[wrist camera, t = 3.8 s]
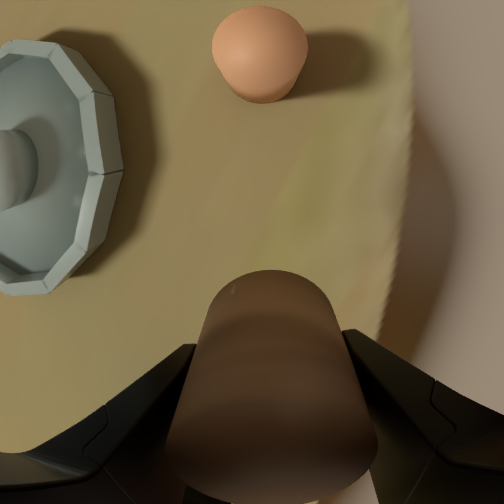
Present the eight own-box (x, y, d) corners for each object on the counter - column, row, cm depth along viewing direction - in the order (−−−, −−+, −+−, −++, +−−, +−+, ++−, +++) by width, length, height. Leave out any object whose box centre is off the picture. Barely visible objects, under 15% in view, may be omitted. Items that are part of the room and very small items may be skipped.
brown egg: (301, 100, 16) (314, 83, 12) (230, 108, 17) (218, 94, 12) (291, 37, 15) (299, 2, 10) (221, 45, 15) (207, 13, 11)
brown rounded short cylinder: (334, 371, 10) (363, 495, 5) (218, 381, 10) (194, 505, 6) (333, 262, 9) (393, 379, 4) (194, 277, 9) (133, 398, 4)
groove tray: (145, 270, 20) (126, 291, 17) (-14, 286, 21) (-35, 301, 18) (108, 9, 14) (85, -7, 11) (-46, 101, 16) (-70, 102, 13)
